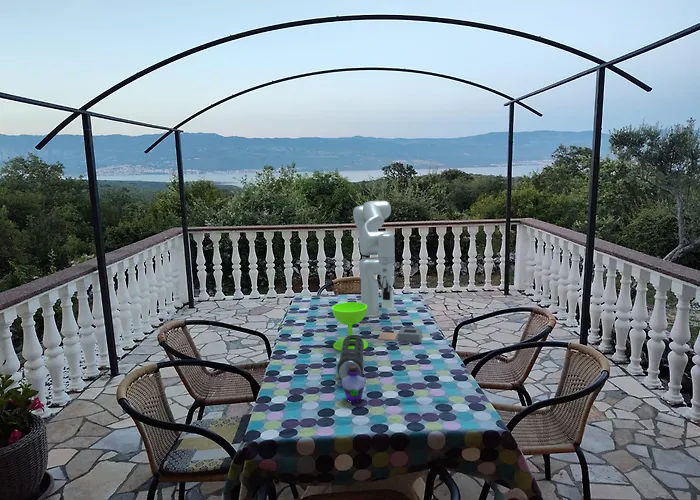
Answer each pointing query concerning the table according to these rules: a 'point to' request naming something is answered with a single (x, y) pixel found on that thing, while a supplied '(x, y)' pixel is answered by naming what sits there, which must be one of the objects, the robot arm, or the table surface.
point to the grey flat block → (410, 334)
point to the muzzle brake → (351, 355)
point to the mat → (387, 336)
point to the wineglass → (349, 319)
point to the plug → (387, 302)
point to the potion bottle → (353, 384)
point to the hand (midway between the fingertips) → (387, 298)
